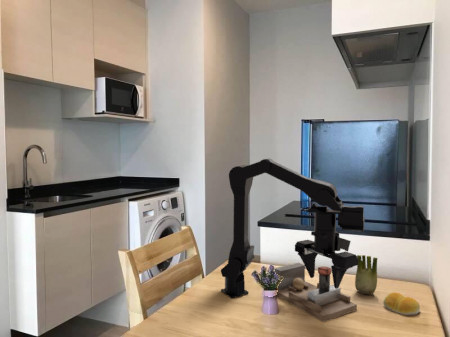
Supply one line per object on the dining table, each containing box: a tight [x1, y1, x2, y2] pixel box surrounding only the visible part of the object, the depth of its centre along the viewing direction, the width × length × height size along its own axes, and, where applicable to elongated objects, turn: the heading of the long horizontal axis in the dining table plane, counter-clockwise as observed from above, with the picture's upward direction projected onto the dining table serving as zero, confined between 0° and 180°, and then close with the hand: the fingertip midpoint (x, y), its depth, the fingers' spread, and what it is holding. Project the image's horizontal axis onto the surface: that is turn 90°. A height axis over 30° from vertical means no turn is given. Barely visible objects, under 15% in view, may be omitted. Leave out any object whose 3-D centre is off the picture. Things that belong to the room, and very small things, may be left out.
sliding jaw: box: [307, 266, 342, 306], centre depth 104 cm, size 4×10×9 cm, turn 122°
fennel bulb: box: [354, 254, 378, 296], centre depth 113 cm, size 6×5×12 cm
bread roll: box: [383, 291, 420, 316], centre depth 104 cm, size 8×9×4 cm
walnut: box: [293, 278, 304, 290], centre depth 113 cm, size 4×4×4 cm
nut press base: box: [273, 262, 358, 323], centre depth 108 cm, size 22×13×8 cm, turn 32°
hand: (324, 282), depth 104 cm, fingers open, 9 cm apart
